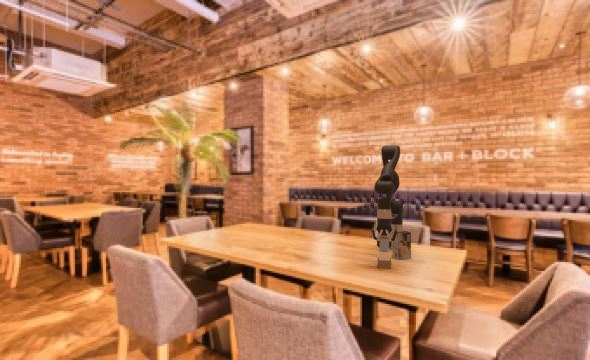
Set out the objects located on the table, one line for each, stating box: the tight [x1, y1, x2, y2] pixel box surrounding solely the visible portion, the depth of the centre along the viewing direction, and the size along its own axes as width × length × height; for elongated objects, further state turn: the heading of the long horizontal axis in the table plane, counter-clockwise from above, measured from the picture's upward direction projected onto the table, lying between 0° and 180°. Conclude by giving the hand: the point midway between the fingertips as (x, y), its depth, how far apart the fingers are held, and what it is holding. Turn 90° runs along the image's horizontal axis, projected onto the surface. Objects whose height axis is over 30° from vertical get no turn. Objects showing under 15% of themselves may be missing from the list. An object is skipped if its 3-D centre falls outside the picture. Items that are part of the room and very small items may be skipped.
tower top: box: [377, 248, 391, 261], centre depth 163 cm, size 6×6×4 cm
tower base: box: [377, 257, 392, 270], centre depth 163 cm, size 7×7×4 cm
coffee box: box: [391, 230, 412, 261], centre depth 180 cm, size 9×6×16 cm
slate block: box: [378, 236, 390, 250], centre depth 163 cm, size 5×5×6 cm
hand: (384, 247), depth 163 cm, fingers closed on slate block, 5 cm apart
